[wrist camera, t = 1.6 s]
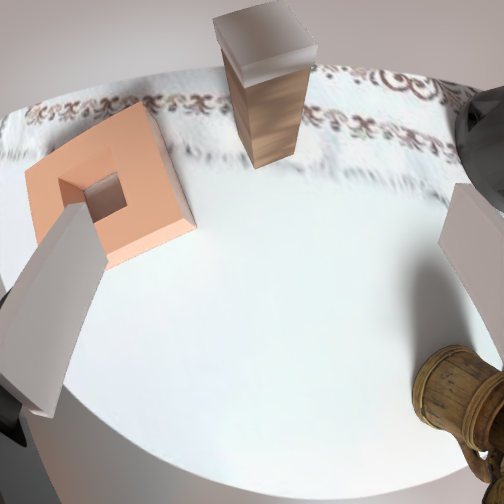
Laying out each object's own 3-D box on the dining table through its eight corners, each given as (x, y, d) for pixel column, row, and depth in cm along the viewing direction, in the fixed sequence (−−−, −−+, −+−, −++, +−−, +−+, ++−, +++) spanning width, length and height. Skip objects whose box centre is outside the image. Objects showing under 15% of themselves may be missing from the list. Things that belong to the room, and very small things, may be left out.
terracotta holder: (157, 123, 31) (141, 100, 26) (197, 228, 29) (183, 218, 24) (51, 184, 31) (24, 171, 26) (76, 284, 30) (48, 285, 25)
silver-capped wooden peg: (276, 119, 30) (282, -1, 14) (295, 154, 30) (318, 44, 14) (237, 134, 30) (212, 18, 14) (254, 170, 30) (241, 67, 14)
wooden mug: (396, 464, 26) (470, 567, 9) (418, 347, 28) (547, 402, 10) (461, 450, 26) (548, 523, 8) (484, 341, 27) (608, 372, 9)
